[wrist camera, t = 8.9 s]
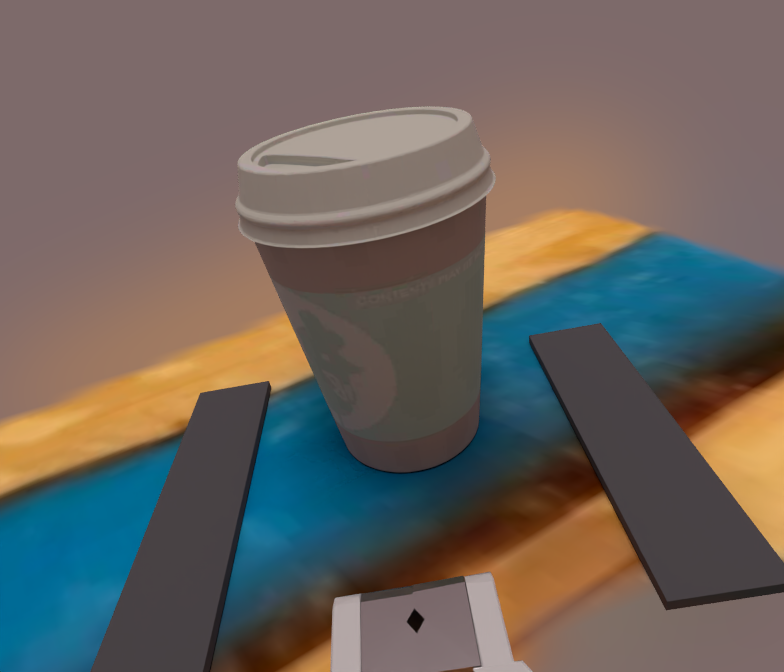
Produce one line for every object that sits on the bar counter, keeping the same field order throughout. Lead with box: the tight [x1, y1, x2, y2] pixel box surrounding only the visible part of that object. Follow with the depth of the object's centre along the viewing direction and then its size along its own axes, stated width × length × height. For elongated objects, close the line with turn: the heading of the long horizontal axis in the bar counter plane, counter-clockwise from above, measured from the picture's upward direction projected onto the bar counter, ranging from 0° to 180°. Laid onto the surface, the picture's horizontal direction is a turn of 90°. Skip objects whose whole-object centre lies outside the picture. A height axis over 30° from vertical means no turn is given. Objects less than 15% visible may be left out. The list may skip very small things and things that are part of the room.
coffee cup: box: [235, 107, 496, 472], centre depth 21 cm, size 9×8×12 cm
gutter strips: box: [91, 323, 784, 672], centre depth 21 cm, size 14×20×1 cm
